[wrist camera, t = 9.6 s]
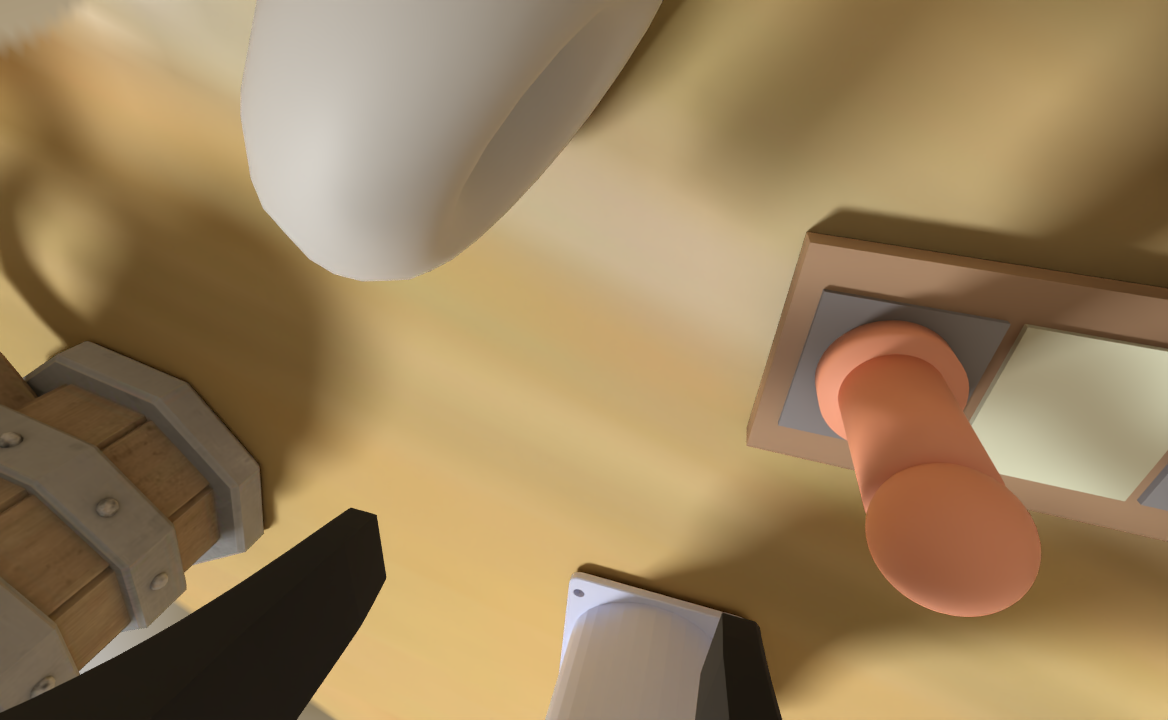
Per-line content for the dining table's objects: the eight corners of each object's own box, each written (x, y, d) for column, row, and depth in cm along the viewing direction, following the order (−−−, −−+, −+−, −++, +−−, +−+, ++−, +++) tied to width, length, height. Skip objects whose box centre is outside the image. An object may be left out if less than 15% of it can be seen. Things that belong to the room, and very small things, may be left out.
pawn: (924, 441, 16) (1033, 687, 10) (799, 414, 17) (828, 630, 11) (981, 334, 14) (1158, 556, 8) (837, 309, 15) (900, 496, 9)
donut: (632, -198, 12) (360, -765, 4) (745, -78, 12) (736, -328, 4) (424, 161, 17) (118, 272, 9) (509, 235, 18) (294, 406, 9)
